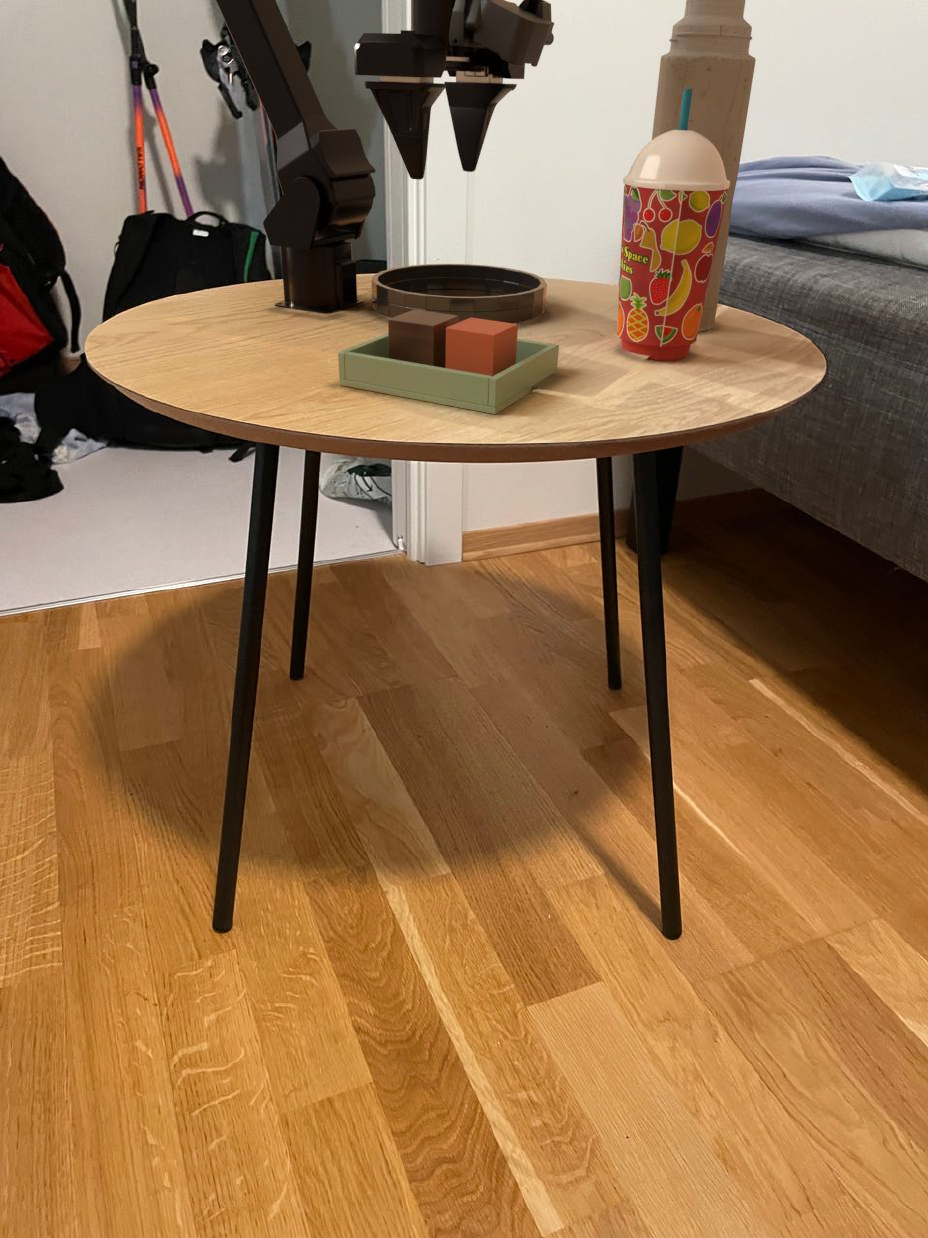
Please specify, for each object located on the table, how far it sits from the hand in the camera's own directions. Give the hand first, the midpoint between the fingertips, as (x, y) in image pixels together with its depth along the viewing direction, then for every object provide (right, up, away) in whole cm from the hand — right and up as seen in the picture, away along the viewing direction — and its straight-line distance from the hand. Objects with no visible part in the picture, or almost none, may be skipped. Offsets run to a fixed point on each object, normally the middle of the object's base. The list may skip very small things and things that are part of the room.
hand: (444, 174), depth 81 cm
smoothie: (+18, -15, +1) cm, 24 cm away
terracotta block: (+3, -20, -10) cm, 22 cm away
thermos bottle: (+22, -10, +11) cm, 26 cm away
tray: (+1, -20, -8) cm, 22 cm away
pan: (+1, -7, +13) cm, 15 cm away
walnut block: (-1, -19, -8) cm, 20 cm away
